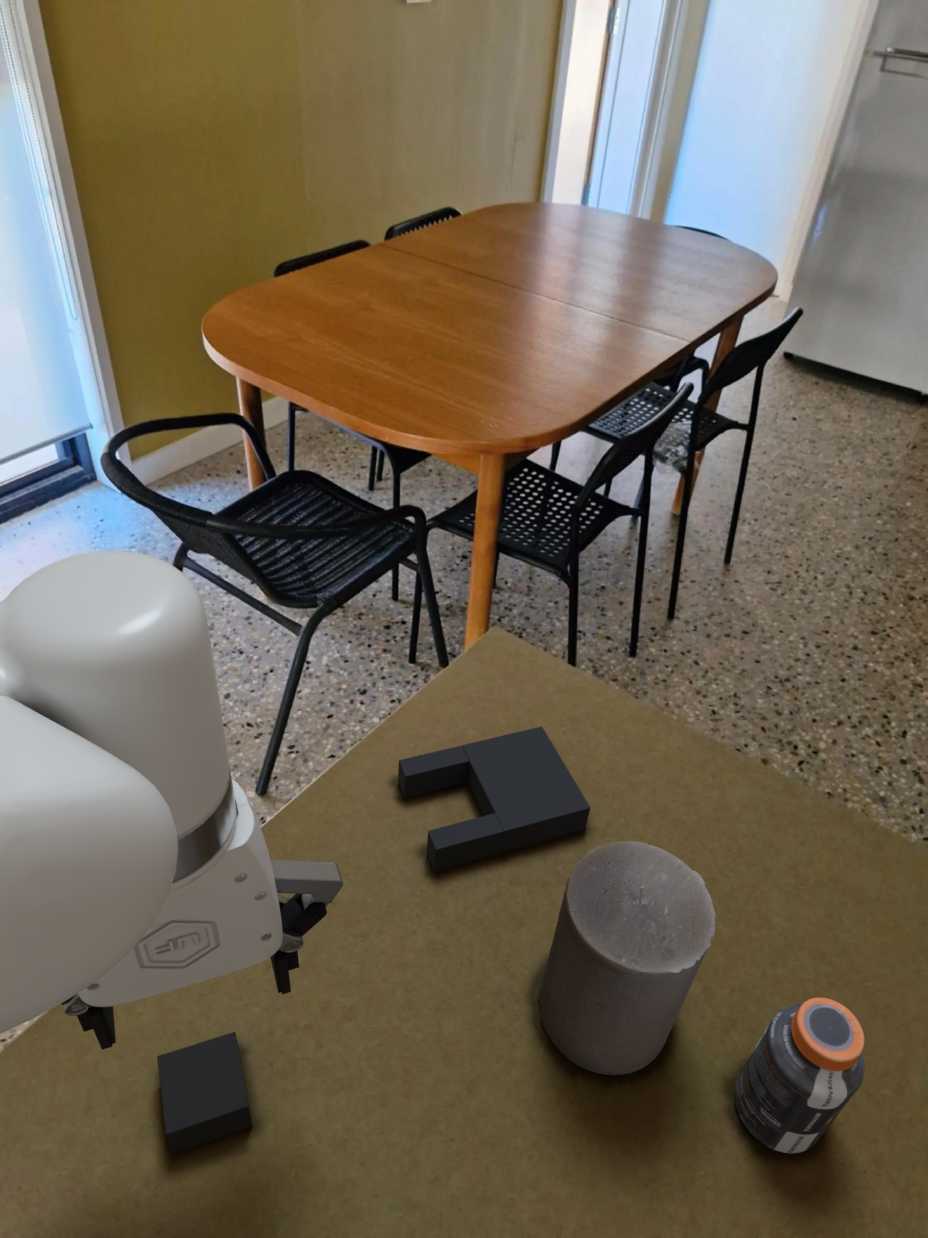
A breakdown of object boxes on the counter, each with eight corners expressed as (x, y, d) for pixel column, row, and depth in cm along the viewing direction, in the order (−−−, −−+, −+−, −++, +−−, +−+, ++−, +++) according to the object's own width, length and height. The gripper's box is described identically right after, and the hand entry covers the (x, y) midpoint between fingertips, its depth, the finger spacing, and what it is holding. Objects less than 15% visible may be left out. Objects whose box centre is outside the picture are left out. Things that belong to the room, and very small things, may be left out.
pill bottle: (820, 1170, 58) (884, 1094, 50) (728, 1136, 59) (778, 1057, 52) (822, 1081, 62) (881, 999, 55) (736, 1051, 63) (783, 967, 56)
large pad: (434, 872, 73) (435, 850, 71) (397, 782, 80) (398, 759, 78) (585, 829, 78) (590, 807, 76) (538, 748, 85) (542, 726, 83)
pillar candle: (512, 988, 66) (536, 867, 56) (611, 927, 70) (649, 806, 61) (596, 1106, 60) (639, 993, 50) (699, 1030, 64) (756, 914, 55)
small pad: (172, 1154, 56) (165, 1135, 54) (163, 1076, 59) (156, 1056, 57) (252, 1126, 57) (248, 1106, 55) (239, 1052, 61) (235, 1031, 59)
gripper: (-73, 933, 35) (33, 1115, 46) (356, 824, 40) (359, 1010, 51) (-60, 789, 40) (32, 983, 51) (318, 710, 45) (328, 900, 56)
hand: (196, 996), depth 51 cm, fingers open, 9 cm apart
